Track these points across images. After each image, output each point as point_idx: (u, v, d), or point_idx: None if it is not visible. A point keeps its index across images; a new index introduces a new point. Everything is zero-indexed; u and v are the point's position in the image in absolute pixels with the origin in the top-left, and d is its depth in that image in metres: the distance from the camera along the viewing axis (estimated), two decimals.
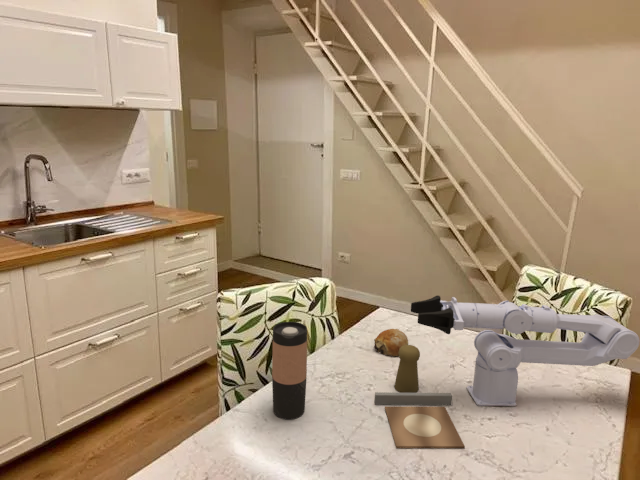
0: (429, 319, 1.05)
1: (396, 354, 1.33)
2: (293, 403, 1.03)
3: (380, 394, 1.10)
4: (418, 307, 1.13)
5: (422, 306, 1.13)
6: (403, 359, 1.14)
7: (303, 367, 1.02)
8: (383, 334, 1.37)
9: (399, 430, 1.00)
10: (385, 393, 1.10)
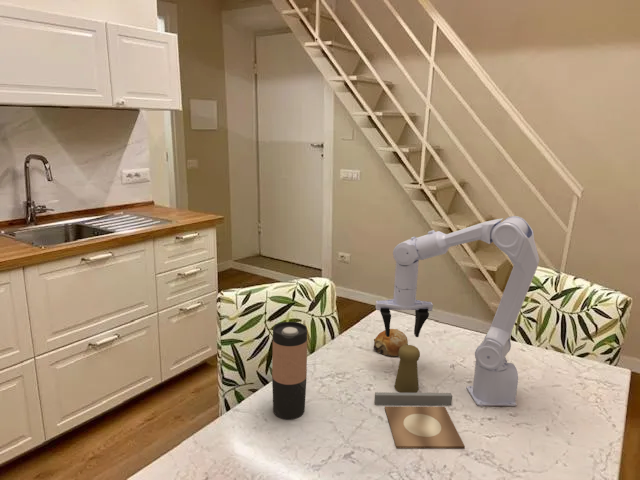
0: (386, 326, 1.24)
1: (396, 354, 1.33)
2: (293, 403, 1.03)
3: (380, 394, 1.10)
4: (415, 329, 1.24)
5: (415, 325, 1.24)
6: (403, 359, 1.14)
7: (303, 367, 1.02)
8: (383, 334, 1.37)
9: (399, 430, 1.00)
10: (385, 393, 1.10)
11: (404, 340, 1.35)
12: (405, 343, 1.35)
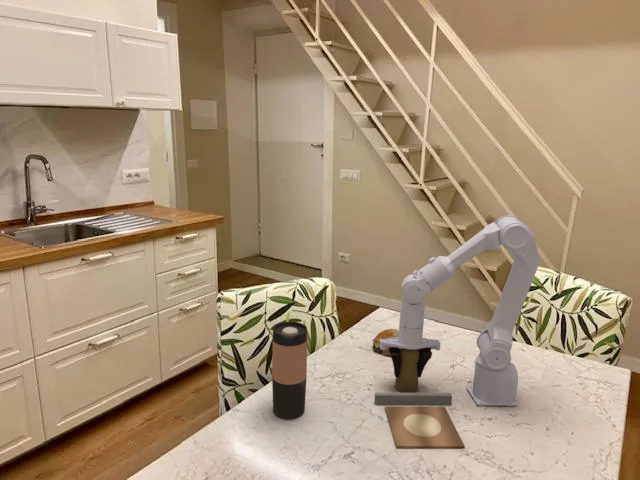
0: (395, 366, 1.16)
1: None
2: (293, 403, 1.03)
3: (380, 394, 1.10)
4: None
5: (418, 364, 1.17)
6: (403, 359, 1.14)
7: (303, 367, 1.02)
8: (382, 334, 1.36)
9: (399, 430, 1.00)
10: (385, 393, 1.10)
11: None
12: None
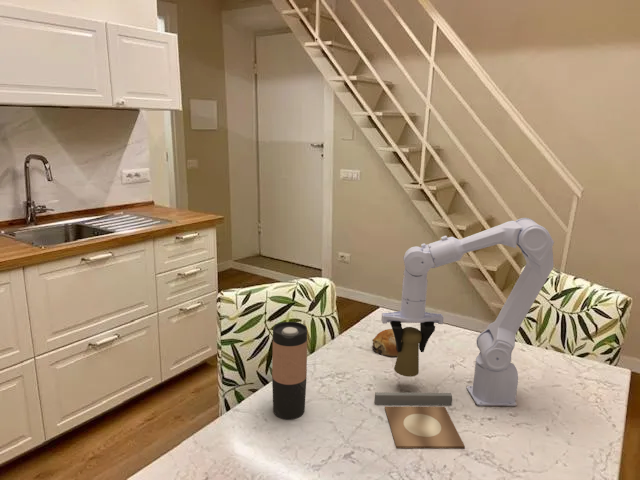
0: (396, 340, 1.15)
1: (394, 354, 1.33)
2: (293, 403, 1.03)
3: (380, 394, 1.10)
4: (420, 343, 1.15)
5: None
6: (405, 341, 1.13)
7: (303, 367, 1.02)
8: (381, 334, 1.36)
9: (399, 430, 1.00)
10: (385, 393, 1.10)
11: None
12: None
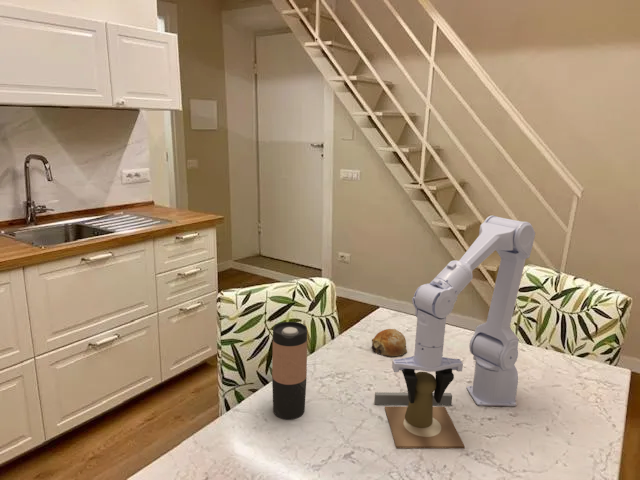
0: None
1: (394, 354, 1.33)
2: (293, 403, 1.03)
3: (380, 394, 1.10)
4: (436, 393, 1.01)
5: (436, 388, 1.01)
6: (419, 390, 0.99)
7: (303, 367, 1.02)
8: (381, 334, 1.36)
9: (399, 430, 1.00)
10: (385, 393, 1.10)
11: (402, 340, 1.35)
12: (403, 343, 1.35)
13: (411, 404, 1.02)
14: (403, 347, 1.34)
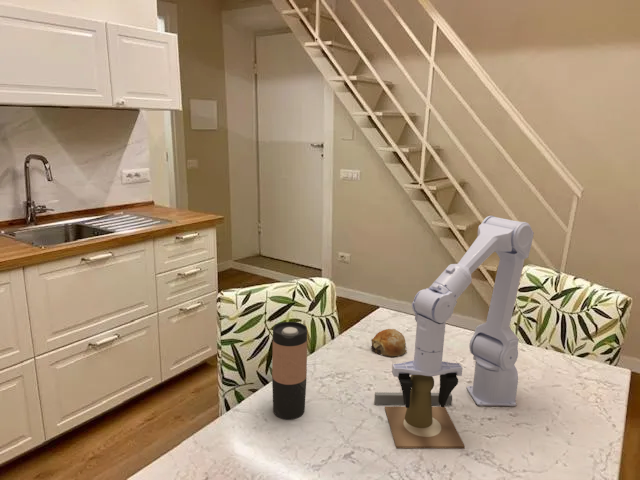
0: (404, 394, 1.00)
1: (393, 354, 1.33)
2: (293, 403, 1.03)
3: (380, 394, 1.10)
4: (440, 397, 1.01)
5: (441, 392, 1.01)
6: (416, 389, 1.00)
7: (303, 367, 1.02)
8: (380, 334, 1.36)
9: (399, 430, 1.00)
10: (385, 393, 1.10)
11: (402, 340, 1.35)
12: (403, 343, 1.35)
13: (410, 404, 1.02)
14: (403, 347, 1.34)
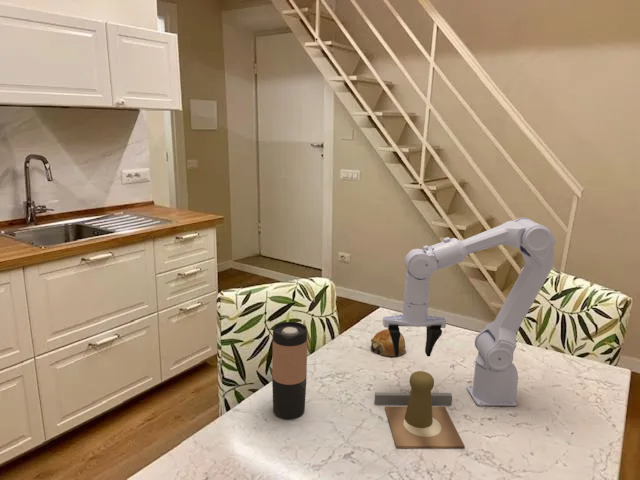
0: None
1: (393, 354, 1.33)
2: (293, 403, 1.03)
3: (380, 394, 1.10)
4: (426, 347, 1.13)
5: (427, 343, 1.13)
6: (416, 389, 1.00)
7: (303, 367, 1.02)
8: (380, 334, 1.36)
9: (399, 430, 1.00)
10: (385, 393, 1.10)
11: (401, 340, 1.35)
12: (402, 343, 1.35)
13: (410, 404, 1.02)
14: (402, 347, 1.34)
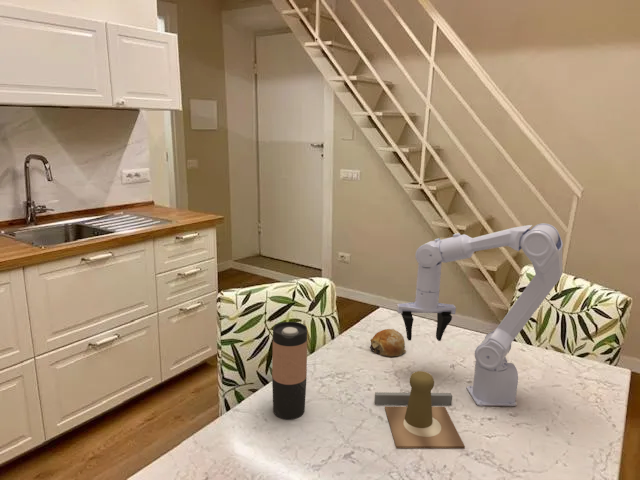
0: (407, 329, 1.21)
1: (392, 354, 1.33)
2: (293, 403, 1.03)
3: (380, 394, 1.10)
4: (437, 332, 1.21)
5: (438, 329, 1.21)
6: (416, 389, 1.00)
7: (303, 367, 1.02)
8: (379, 334, 1.36)
9: (399, 430, 1.00)
10: (385, 393, 1.10)
11: (401, 340, 1.35)
12: (402, 343, 1.35)
13: (410, 404, 1.02)
14: (402, 347, 1.34)
